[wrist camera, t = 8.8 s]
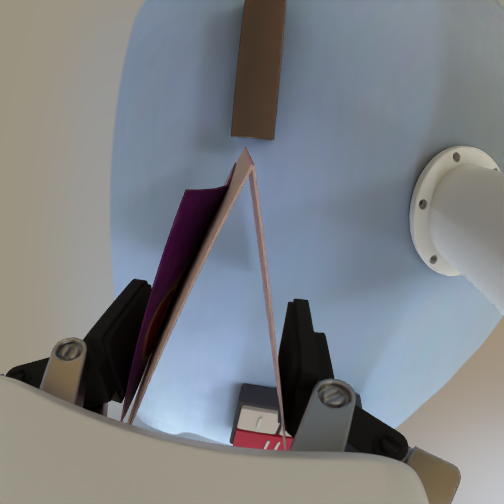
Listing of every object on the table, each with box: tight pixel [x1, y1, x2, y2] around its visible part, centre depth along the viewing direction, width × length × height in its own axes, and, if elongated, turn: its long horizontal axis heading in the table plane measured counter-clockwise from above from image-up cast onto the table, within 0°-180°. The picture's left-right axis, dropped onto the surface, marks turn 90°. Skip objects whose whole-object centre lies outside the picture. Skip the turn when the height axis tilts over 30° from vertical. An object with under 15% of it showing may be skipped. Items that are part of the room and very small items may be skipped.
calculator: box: [230, 384, 362, 451], centre depth 31 cm, size 11×4×15 cm
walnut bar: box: [231, 0, 286, 140], centre depth 17 cm, size 3×12×2 cm, turn 175°
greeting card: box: [121, 147, 287, 451], centre depth 13 cm, size 11×7×15 cm, turn 153°
